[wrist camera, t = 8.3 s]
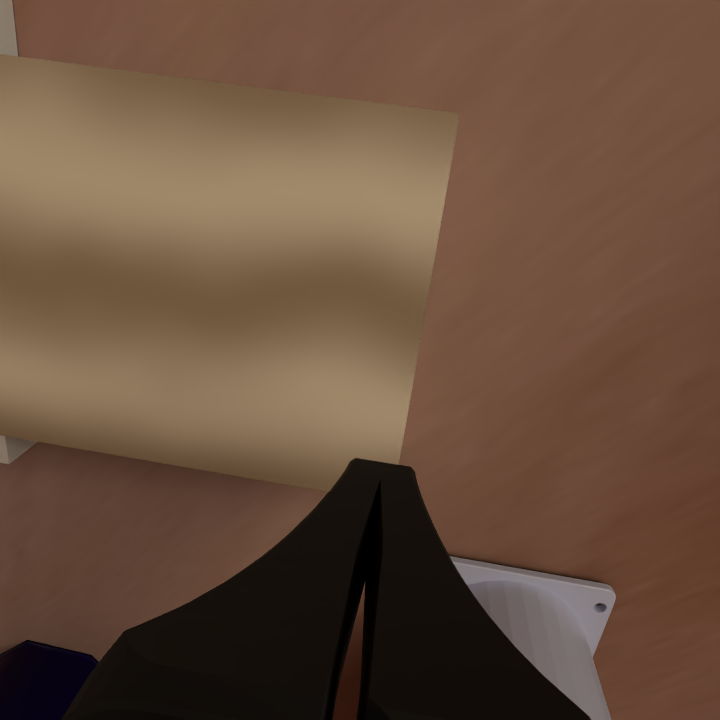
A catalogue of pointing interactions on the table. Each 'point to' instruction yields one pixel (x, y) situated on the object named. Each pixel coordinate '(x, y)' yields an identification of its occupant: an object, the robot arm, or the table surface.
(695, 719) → the table surface
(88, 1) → the table surface
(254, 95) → the board
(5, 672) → the bottle
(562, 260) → the table surface
